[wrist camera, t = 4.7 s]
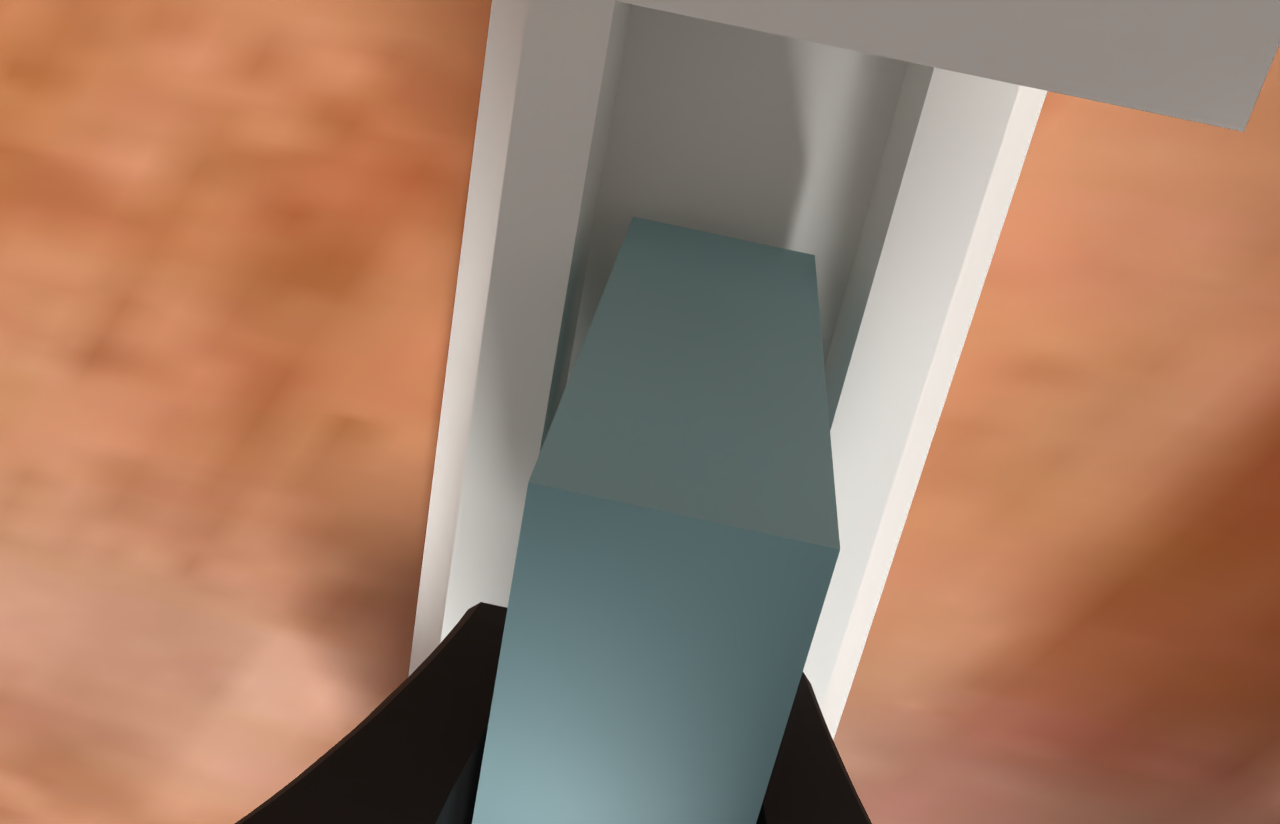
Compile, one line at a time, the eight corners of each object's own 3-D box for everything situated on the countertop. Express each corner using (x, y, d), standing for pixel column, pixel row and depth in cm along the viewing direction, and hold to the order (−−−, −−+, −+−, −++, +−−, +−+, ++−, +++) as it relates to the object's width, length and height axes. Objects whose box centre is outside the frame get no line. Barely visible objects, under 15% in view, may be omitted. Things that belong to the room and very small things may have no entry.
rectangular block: (692, 807, 16) (649, 1280, 11) (528, 772, 16) (405, 1224, 11) (842, 260, 13) (886, 560, 7) (633, 216, 13) (527, 481, 8)
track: (752, 946, 20) (742, 1364, 14) (394, 867, 20) (248, 1252, 14) (1090, -101, 13) (1323, -64, 7) (534, -215, 13) (351, -266, 7)
